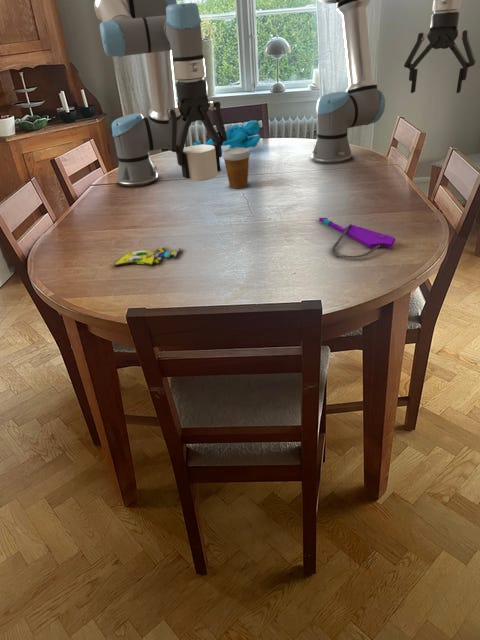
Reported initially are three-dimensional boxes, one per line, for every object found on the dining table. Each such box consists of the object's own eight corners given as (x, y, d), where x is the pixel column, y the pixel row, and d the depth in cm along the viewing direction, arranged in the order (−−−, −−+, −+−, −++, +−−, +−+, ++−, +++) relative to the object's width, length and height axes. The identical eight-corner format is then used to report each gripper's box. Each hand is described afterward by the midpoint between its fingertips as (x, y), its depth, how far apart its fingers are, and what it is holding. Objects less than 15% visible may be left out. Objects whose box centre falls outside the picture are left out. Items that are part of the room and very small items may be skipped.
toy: (198, 134, 217) (260, 114, 207) (206, 157, 223) (267, 139, 212) (187, 143, 204) (253, 123, 194) (196, 168, 209) (261, 149, 199)
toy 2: (171, 262, 119) (113, 263, 121) (171, 266, 119) (114, 266, 121) (180, 245, 127) (126, 246, 129) (180, 248, 128) (127, 249, 130)
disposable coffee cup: (220, 189, 168) (217, 154, 161) (231, 180, 175) (228, 146, 168) (246, 190, 164) (243, 154, 158) (255, 181, 171) (253, 147, 165)
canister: (195, 183, 124) (191, 154, 120) (181, 176, 130) (177, 149, 126) (223, 176, 127) (221, 148, 123) (208, 169, 133) (205, 142, 129)
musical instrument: (379, 268, 112) (405, 226, 124) (378, 260, 110) (405, 219, 123) (287, 256, 124) (320, 220, 137) (286, 249, 123) (319, 213, 135)
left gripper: (154, 87, 109) (170, 185, 121) (236, 75, 117) (243, 168, 129) (143, 84, 115) (159, 179, 127) (222, 73, 122) (230, 162, 135)
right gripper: (398, 15, 142) (391, 94, 153) (491, 9, 130) (476, 94, 142) (405, 14, 147) (398, 90, 159) (495, 7, 135) (480, 90, 147)
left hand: (201, 173), depth 128 cm, fingers closed on canister, 8 cm apart
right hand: (435, 92), depth 150 cm, fingers open, 13 cm apart
